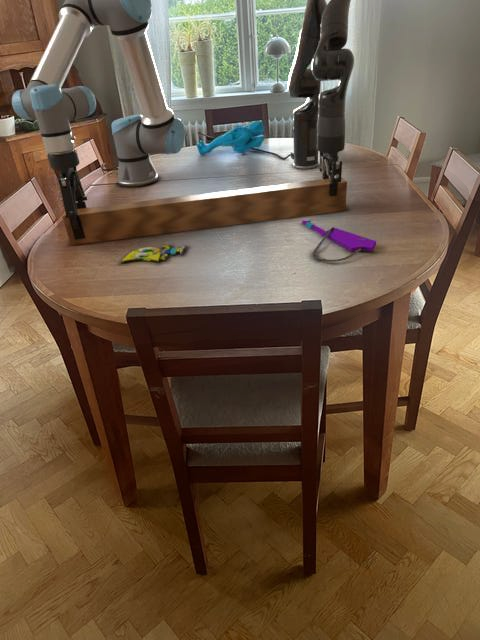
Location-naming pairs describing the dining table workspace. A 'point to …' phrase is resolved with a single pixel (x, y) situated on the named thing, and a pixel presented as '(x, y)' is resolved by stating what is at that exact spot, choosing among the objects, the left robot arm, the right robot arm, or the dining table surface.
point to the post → (207, 210)
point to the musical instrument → (342, 240)
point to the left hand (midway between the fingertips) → (83, 230)
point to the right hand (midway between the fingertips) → (329, 191)
